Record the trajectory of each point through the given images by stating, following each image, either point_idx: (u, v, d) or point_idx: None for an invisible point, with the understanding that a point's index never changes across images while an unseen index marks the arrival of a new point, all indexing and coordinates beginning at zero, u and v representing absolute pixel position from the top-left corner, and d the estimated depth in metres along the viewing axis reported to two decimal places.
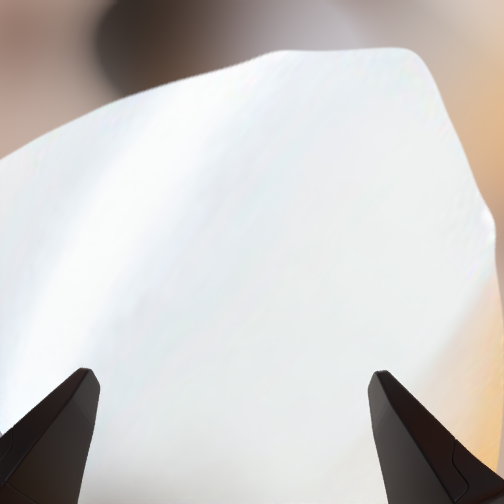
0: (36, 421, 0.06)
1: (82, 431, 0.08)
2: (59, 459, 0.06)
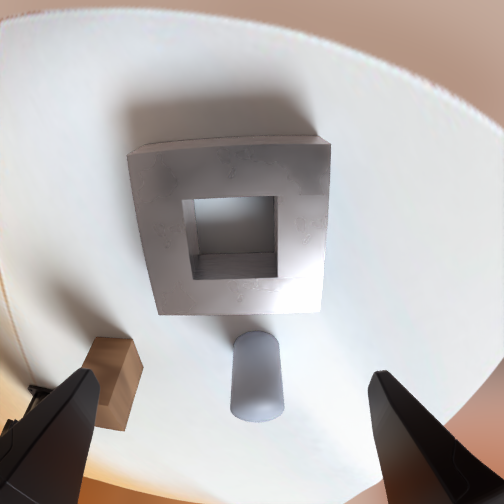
0: (36, 421, 0.06)
1: (82, 431, 0.08)
2: (59, 459, 0.06)
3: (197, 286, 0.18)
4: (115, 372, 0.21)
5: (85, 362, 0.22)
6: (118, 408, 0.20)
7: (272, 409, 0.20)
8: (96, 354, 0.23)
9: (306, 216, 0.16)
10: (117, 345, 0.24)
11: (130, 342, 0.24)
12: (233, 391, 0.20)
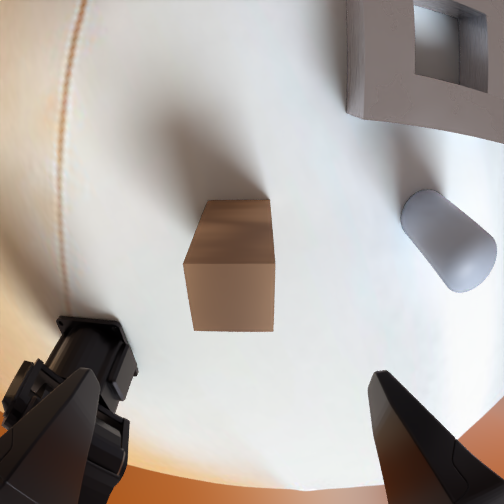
0: (36, 422, 0.06)
1: (82, 431, 0.08)
2: (59, 459, 0.06)
3: (417, 83, 0.12)
4: (265, 228, 0.15)
5: (202, 222, 0.16)
6: None
7: (484, 264, 0.13)
8: (218, 214, 0.17)
9: None
10: (249, 205, 0.18)
11: (268, 202, 0.18)
12: (445, 239, 0.14)
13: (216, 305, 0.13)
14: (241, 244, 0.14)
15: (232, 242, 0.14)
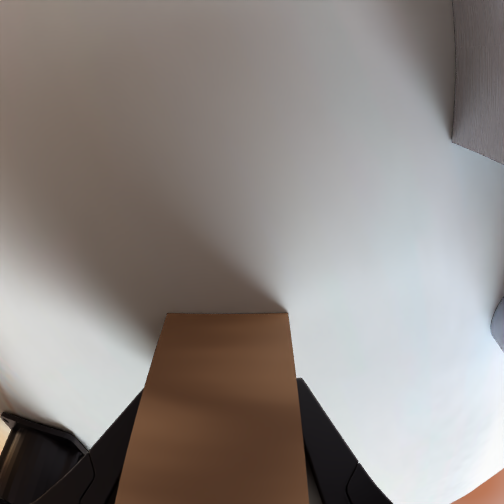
0: (116, 441, 0.06)
1: None
2: None
3: None
4: (285, 426, 0.06)
5: (148, 396, 0.07)
6: None
7: None
8: (183, 368, 0.07)
9: None
10: (248, 333, 0.09)
11: (285, 322, 0.09)
12: None
13: None
14: (233, 495, 0.05)
15: (213, 487, 0.05)
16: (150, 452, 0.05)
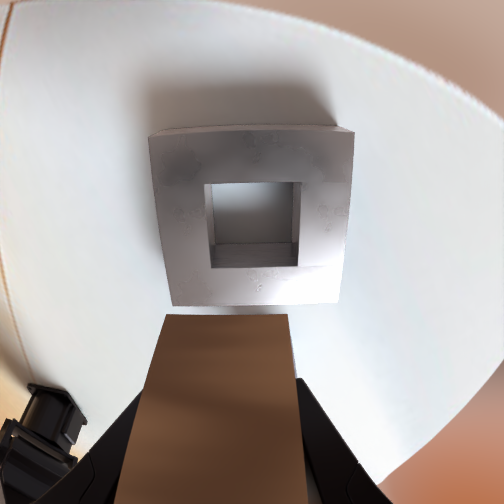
0: (117, 442, 0.06)
1: None
2: None
3: (214, 275, 0.18)
4: (285, 428, 0.06)
5: (147, 397, 0.07)
6: None
7: None
8: (181, 370, 0.07)
9: (329, 203, 0.16)
10: (247, 335, 0.08)
11: (285, 323, 0.09)
12: None
13: None
14: (232, 496, 0.04)
15: (212, 489, 0.05)
16: (149, 454, 0.05)
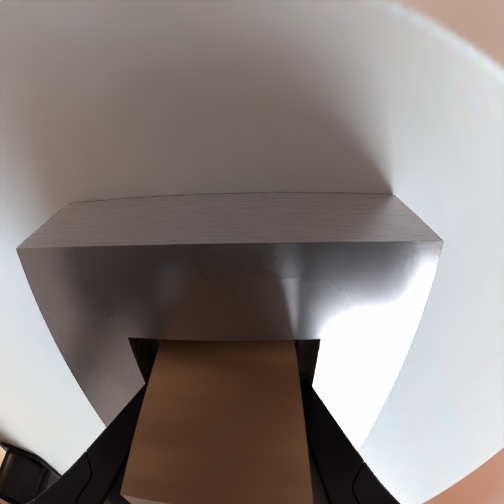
0: (114, 441, 0.06)
1: None
2: None
3: None
4: (285, 381, 0.07)
5: (162, 357, 0.08)
6: None
7: None
8: None
9: (368, 364, 0.08)
10: None
11: None
12: None
13: None
14: (239, 440, 0.06)
15: (221, 434, 0.06)
16: (163, 405, 0.06)
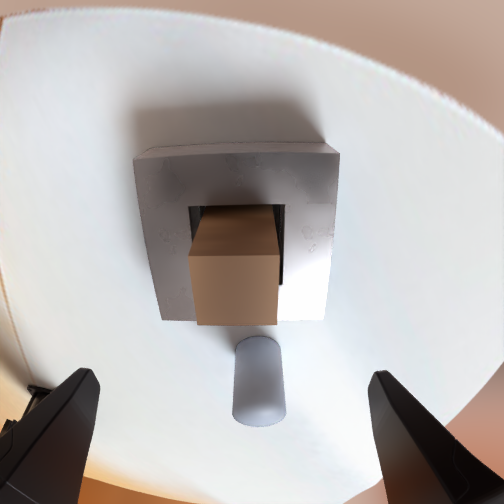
0: (36, 421, 0.06)
1: (82, 431, 0.08)
2: (59, 459, 0.06)
3: None
4: (267, 222, 0.15)
5: (205, 218, 0.16)
6: None
7: (274, 414, 0.19)
8: (220, 210, 0.17)
9: (313, 225, 0.16)
10: None
11: None
12: (235, 396, 0.20)
13: (220, 299, 0.13)
14: (245, 237, 0.14)
15: (236, 236, 0.14)
16: (208, 230, 0.15)
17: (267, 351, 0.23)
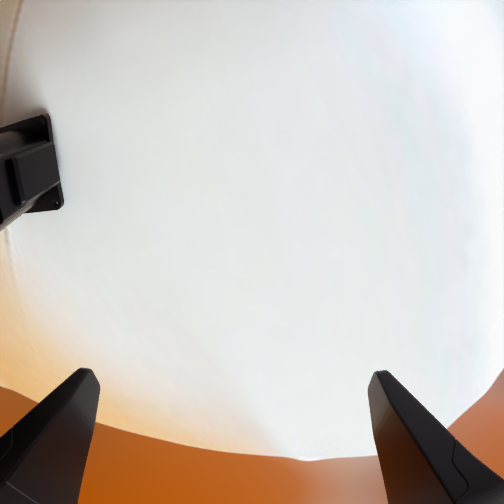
0: (36, 421, 0.06)
1: (82, 431, 0.08)
2: (59, 459, 0.06)
3: None
4: None
5: None
6: None
7: None
8: None
9: None
10: None
11: None
12: None
13: None
14: None
15: None
16: None
17: None
